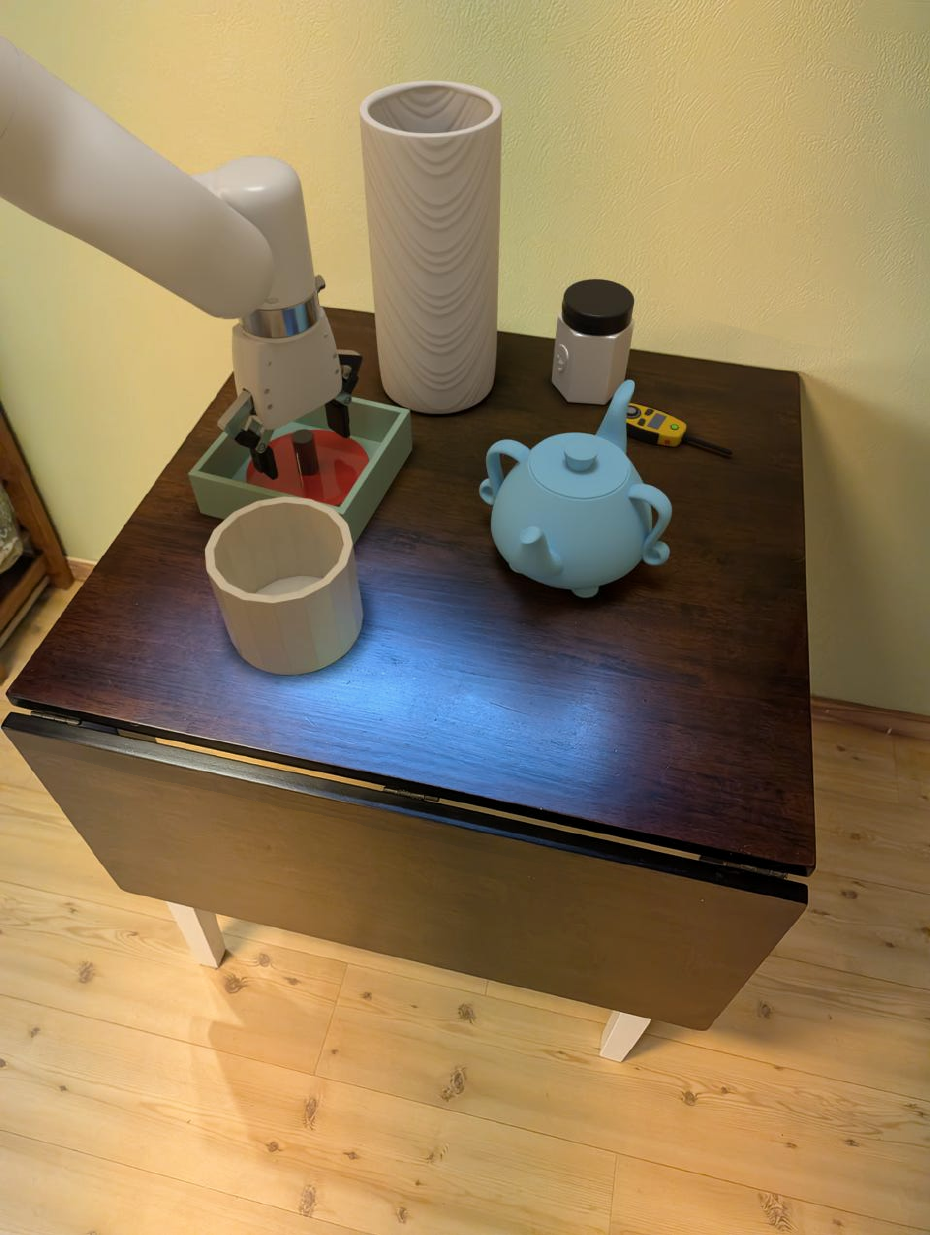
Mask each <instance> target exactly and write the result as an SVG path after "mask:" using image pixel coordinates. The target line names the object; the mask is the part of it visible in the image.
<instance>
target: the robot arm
mask: <svg viewBox="0 0 930 1235" xmlns="http://www.w3.org/2000/svg"><path fill="white" fill-rule="evenodd" d="M0 199H2V200H4V201H6V202H8V203H9V204H11V205H13V206H14V207H15V208H18V209H19V210H21V211H22V212H25V213H26V214H28V215H29V216H31V217H33V218H35V219H36V220H39V221H41V222H43V223H45V224H46V225H49V226H50V227H53V228H55V229H57V230H59V231H61V232H63V233H65V234H68V235H70V236H72V237H74V238H75V239H77V240H80V241H82V242H84V243H86V244H87V245H89V246H91V247H93V248H95V249H97V250H98V251H100V252H102V253H104V254H106V255H107V256H109V257H111V258H113V259H115V260H116V261H118V262H120V263H121V264H123V265H125V266H126V267H128V268H130V269H131V270H133V271H135V272H136V273H137V274H140V275H142V276H143V277H144V278H146V279H148V280H150V281H152V282H153V283H155V284H156V285H159V286H160V287H161V288H163V289H165V290H167V291H169V292H170V293H172V294H173V295H176V296H177V297H179V298H180V299H182V300H183V301H186V302H187V303H189V304H190V305H192V306H194V307H195V308H197V309H199V310H200V311H202V312H203V313H205V314H206V315H208V316H210V317H213V318H215V319H221V320H236V319H237V320H238V323H236V324H234V325H233V326H232V327H231V328H232V329H231V360H232V369H233V370H232V371H233V376H234V384H235V388H236V389H235V391H236V395H237V398H235V400H234V401H233V402H232V404H231V405H229V407H228V408H227V409H226V411H224V413H223V414H222V415H221V416H220V418H219V419H218V420H217V423H216V426H217V427H218V428H219V429H220V430H221V431H224V432H225V433H226V434H227V435H228V436H230V437H231V438H232V439H233V440H234V441H236V442H237V443H238V444H239V445H241V446H244V447H247V448H249V449H250V453H251V458H252V462H253V465H254V467H255V469H256V470H257V471H258V472H260V473H264V474H266V475H267V476H268V477H269V478H271V479H272V480H275V479H277V478H278V476H279V475H278V470H277V465H276V461H275V456H274V452H273V449H272V448H271V447H270V446H268V444H269V441H270V439H271V437H272V435H273V432H274V430H275V429H278V428H280V427H282V426H285V425H287V424H288V423H290V422H292V421H294V420H296V419H298V418H300V417H302V416H304V415H305V414H307V413H309V412H311V411H313V410H315V409H316V408H318V407H320V406H322V405H324V404H325V410H326V417H327V423H328V427H329V428H330V429H331V430H333V431H334V432H336V433H337V434H338V435H340V436H341V437H343V438H345V439H346V438H348V437H350V428H349V423H350V420H349V412H348V405H349V404H350V403H351V401H352V397H353V396H352V393H353V391H354V389H355V387H356V386H357V384H358V382H359V377H358V376H359V375H358V374H359V373H360V370H361V367H362V364H363V359H364V358H363V355H361V353H358V352H357V351H356V350H352V349H337V345H336V339H335V336H334V333H333V331H332V327H331V324H330V322H329V318H328V316H327V314H326V311H325V309H324V308H323V306H322V305H320V299H319V293H320V292H321V291H323V290H324V289H326V281H325V279H324V276H322V275H321V274H316V275H315V270H314V264H313V256H312V255H313V254H312V248H311V241H310V234H309V226H308V220H307V213H306V204H305V199H304V191H303V186H302V182H301V178H300V177H299V175H298V173H297V171H296V169H295V168H294V166H292V165H290V163H288V162H287V161H285V160H282V159H280V158H278V157H274V156H269V155H248V156H247V155H246V156H240V157H237V158H233V159H231V160H229V161H226V162H224V163H223V164H221V165H220V166H218V167H217V168H216V169H214V170H211V171H206V172H202V173H196V174H188V173H187V172H186V171H184V170H183V169H181V168H180V167H179V166H177V165H175V164H174V163H173V162H171V161H170V160H168V158H166V157H165V156H163V155H162V154H160V153H159V152H158V151H157V150H155V149H154V148H152V147H151V146H150V145H148V144H147V143H145V142H144V141H142V140H141V139H139V137H137V136H135V135H134V134H133V133H132V132H131V131H129V130H127V128H125V127H124V126H122V125H121V124H120V123H119V122H117V121H116V120H115V119H114V118H112V117H111V116H110V115H109V114H108V113H107V112H105V111H104V110H103V109H101V108H100V107H99V106H98V105H96V104H95V103H94V102H93V101H91V100H89V99H88V98H87V97H86V96H84V95H83V94H81V93H80V92H79V91H78V90H76V89H75V88H73V87H72V86H70V85H69V84H68V83H66V82H65V81H64V80H62V79H61V78H59V76H57V75H55V74H54V73H53V72H52V71H51V70H49V69H48V68H46V67H45V66H44V65H43V64H41V63H40V62H38V61H37V60H36V59H35V58H33V57H31V55H29V54H27V53H26V52H25V51H24V50H22V49H21V48H20V47H19V46H18V45H16V44H15V43H14V42H12V41H11V40H10V39H8V38H7V37H5V36H4V35H3V34H2V33H0ZM341 366H342V368H343V369H342V368H341ZM248 414H250V416H249V418H248V421H247V423H246V425H245V428H244V430H243V429H240V428H239V425H240V423H241V422H242V420H243V419H244V418H245V417H246V416H247V415H248ZM259 425H262V428H261V430H260V433H259V435H257V434H256V432H257V429H258V427H259Z"/></svg>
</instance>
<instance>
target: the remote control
mask: <svg viewBox="0 0 930 1235" xmlns="http://www.w3.org/2000/svg"><path fill="white" fill-rule="evenodd" d="M626 436H628V437H630V438H632V439H634V440H635V439H636V440H637V441H641V442H644V443H647V444H651V445H655V446H656V445H660V446H661V445H662V446H667V447H677V446H678V445H679V444H681V443H682V442H683V443H684V442H685V441H687V442H690V443H693V444H696V445H699V446H702V447H705V448H707V449H711V450H712V451H713V450H714V451H717V452H719V453H722V454H725V455H729V456H731V455H733V454H734V452H733V450H732V449H729V448H726V447H724V446H720V445H718V444H715V443H711V442H710V441H706V440H703V439H700V438H697V437H694V436H692V435H689V434H688V432H687V424H686V423H685V422H683V421H682V420H680V419H678V418H677V417H674V416H673V414H671V413H669V412H667V411H664V410H662V409H659V408H658V407H653V406H651V405H647V404H642V403H637V404H636V403H631V402H630V403H629V406H628V410H627V417H626Z"/></svg>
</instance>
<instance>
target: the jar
mask: <svg viewBox="0 0 930 1235" xmlns="http://www.w3.org/2000/svg"><path fill="white" fill-rule="evenodd" d="M634 296H635V295H634V294H633V292H632V290H630V289H629V288H628V287H626V286H625V285H623V284H621V283H619V282H616V281H613V280H609V279H603V278H589V279H588V278H587V279H582V280H580V281H576V282H574V283H572V284H571V285H569V286H568V287H567V288H566V289H565V290H564V292H563V299H562V301H561V312H560V313H559V314H558V315H557V320H556V328H555V329H556V330H555V341H554V353H553V362H552V371H551V372H552V373H551V383H552V384H553V386H555V388H556V389H557V391H558V392H559V393H560V395H562V397H563V398H564V399H565V401H566V402H568V403H575V404H589V405H601V406H603V405H604V406H605V405H606V404H608V402H609V401H610V400H612V399H613V397H614V395H615V393H616V391H617V389H618V388H619V387H620V386H621V384H622V383H624V382H625V381H626V375H627V374H626V373H627V367H628V362H629V357H630V351H631V345H632V339H633V334H634V328H635V319H634V318H633V313H634V306H635V297H634Z"/></svg>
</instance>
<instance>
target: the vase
mask: <svg viewBox="0 0 930 1235" xmlns="http://www.w3.org/2000/svg"><path fill="white" fill-rule="evenodd" d="M501 103H502V102H500V99H499V98H497V96H495V95H494V94H492V93H491V92H489V91H488V90H485V89H483V88H480V87H478V86H476V85H472V84H468V83H464V82H458V81H449V80H414V81H407V82H400V83H395V84H391V85H389V86H384V87H383V88H380V89H377V90H375V91H374V92H372V93H370V94H369V95H367V96H366V97H365V98H364V99H362V101H361V103H360V105H359V111H358V112H359V124H360V125H359V126H360V139H361V140H360V142H361V152H362V153H361V155H362V168H363V169H362V170H363V179H364V194H365V195H364V196H365V207H366V220H367V221H366V222H367V231H368V232H367V235H368V246H369V259H370V272H371V273H370V274H371V283H372V295H373V296H372V297H373V308H374V309H373V310H374V320H375V324H374V325H375V336H376V347H377V356H378V365H379V372H380V379H381V383H382V387H383V391H384V392H385V393H386V395H387V396H388V397H389V398H390V399H391V400H392V401H394V402H395V403H396V404H398V405H399V406H401V407H402V408H404V409H408V410H410V411H413V412H417V413H422V414H430V415H444V414H445V415H446V414H453V413H457V412H461V411H464V410H467V409H469V408H472V407H473V406H475V405H477V404H479V403H481V402H482V401H483V400H484V399H485V398H486V397H487V396H488V395H489V393H490V392H492V391H491V390H492V389H493V387H494V381H495V374H496V366H497V365H496V363H497V350H498V348H497V346H498V345H497V344H498V313H499V312H498V307H499V306H498V305H499V273H500V272H499V266H500V224H501V185H502V182H501V181H502V137H503V136H502V133H503V131H502V130H503V108H502V107H503V106H502V104H501Z"/></svg>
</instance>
